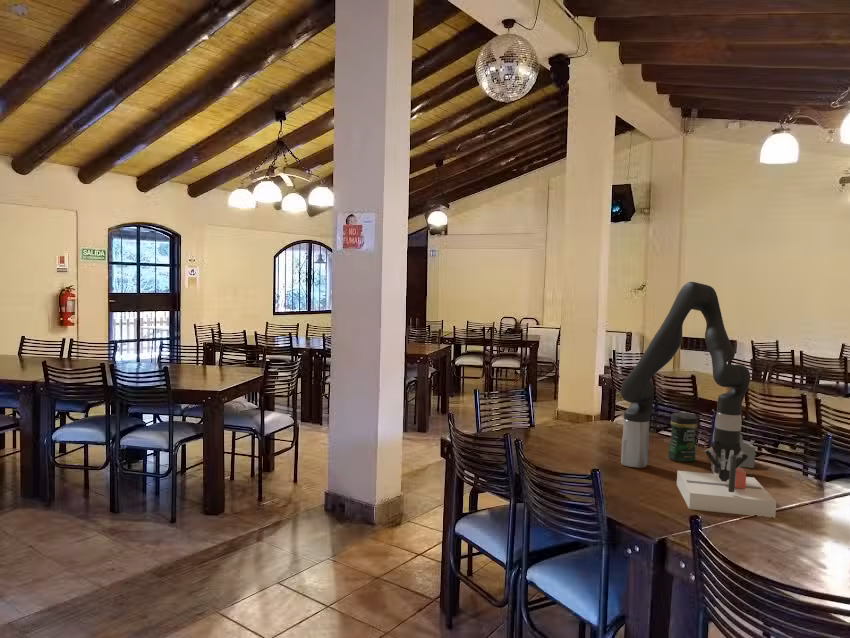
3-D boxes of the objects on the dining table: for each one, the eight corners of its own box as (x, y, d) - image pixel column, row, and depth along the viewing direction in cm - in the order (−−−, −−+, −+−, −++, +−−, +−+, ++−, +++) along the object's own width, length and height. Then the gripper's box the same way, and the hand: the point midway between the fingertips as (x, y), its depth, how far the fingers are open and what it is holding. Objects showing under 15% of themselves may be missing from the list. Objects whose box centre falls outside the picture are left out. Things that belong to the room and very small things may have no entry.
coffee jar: (676, 463, 244) (679, 415, 243) (664, 457, 252) (667, 411, 251) (699, 462, 246) (701, 415, 245) (686, 456, 254) (689, 410, 253)
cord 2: (729, 492, 193) (731, 455, 192) (727, 490, 194) (730, 454, 194) (734, 492, 192) (737, 456, 192) (733, 490, 194) (735, 454, 193)
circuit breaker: (758, 478, 228) (761, 437, 227) (715, 474, 231) (718, 434, 230) (752, 472, 235) (754, 432, 234) (710, 469, 238) (713, 429, 237)
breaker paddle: (734, 487, 200) (735, 472, 199) (730, 481, 205) (731, 466, 205) (745, 488, 199) (746, 473, 199) (740, 482, 205) (741, 467, 204)
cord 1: (714, 472, 212) (716, 439, 211) (713, 471, 214) (715, 438, 213) (719, 473, 212) (721, 440, 211) (718, 471, 213) (720, 439, 213)
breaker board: (689, 509, 194) (690, 492, 194) (676, 484, 218) (677, 470, 217) (775, 517, 189) (776, 501, 189) (753, 492, 212) (753, 477, 212)
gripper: (707, 427, 200) (703, 482, 201) (753, 431, 197) (749, 486, 198) (703, 422, 207) (699, 475, 208) (747, 426, 204) (743, 479, 205)
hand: (723, 480), depth 203 cm, fingers closed
